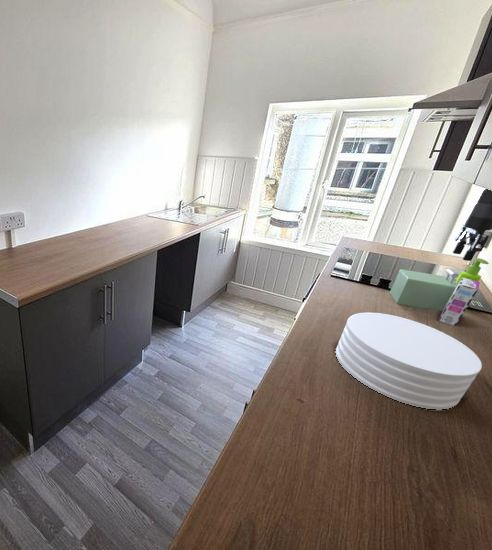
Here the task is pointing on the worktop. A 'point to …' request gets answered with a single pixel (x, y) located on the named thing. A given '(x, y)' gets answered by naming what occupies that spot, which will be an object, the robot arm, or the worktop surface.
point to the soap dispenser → (472, 271)
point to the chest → (420, 294)
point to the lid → (432, 278)
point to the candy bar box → (459, 301)
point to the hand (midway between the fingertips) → (461, 256)
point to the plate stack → (407, 360)
